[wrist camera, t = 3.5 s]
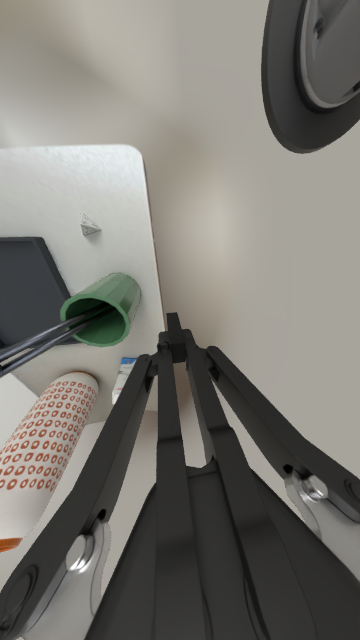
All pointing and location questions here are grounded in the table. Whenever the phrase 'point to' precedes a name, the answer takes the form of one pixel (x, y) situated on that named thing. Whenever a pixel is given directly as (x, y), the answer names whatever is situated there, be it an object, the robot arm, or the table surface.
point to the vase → (41, 453)
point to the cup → (114, 325)
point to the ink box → (122, 377)
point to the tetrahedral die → (88, 225)
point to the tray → (29, 291)
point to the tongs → (47, 333)
